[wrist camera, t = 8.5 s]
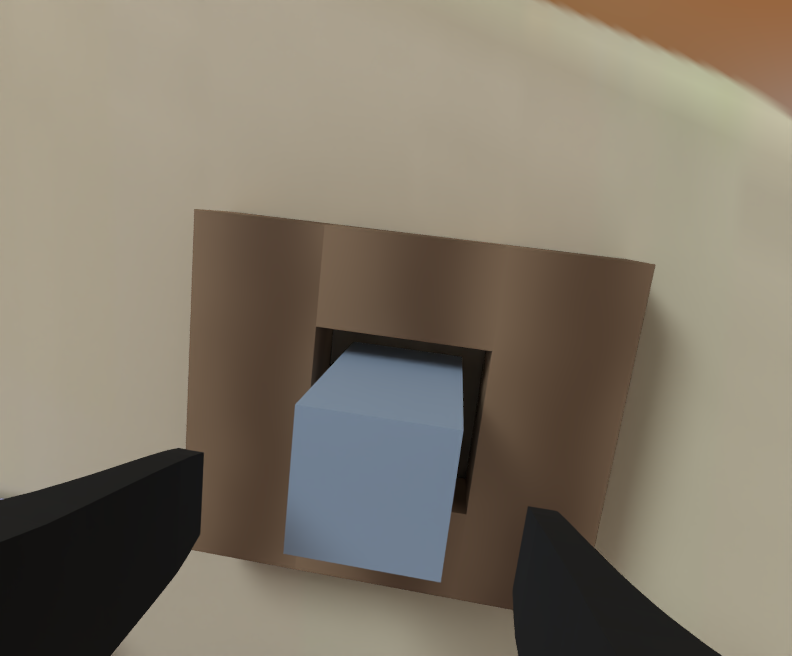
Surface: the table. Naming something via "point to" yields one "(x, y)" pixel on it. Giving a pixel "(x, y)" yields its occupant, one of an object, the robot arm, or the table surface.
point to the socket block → (422, 321)
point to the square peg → (377, 461)
